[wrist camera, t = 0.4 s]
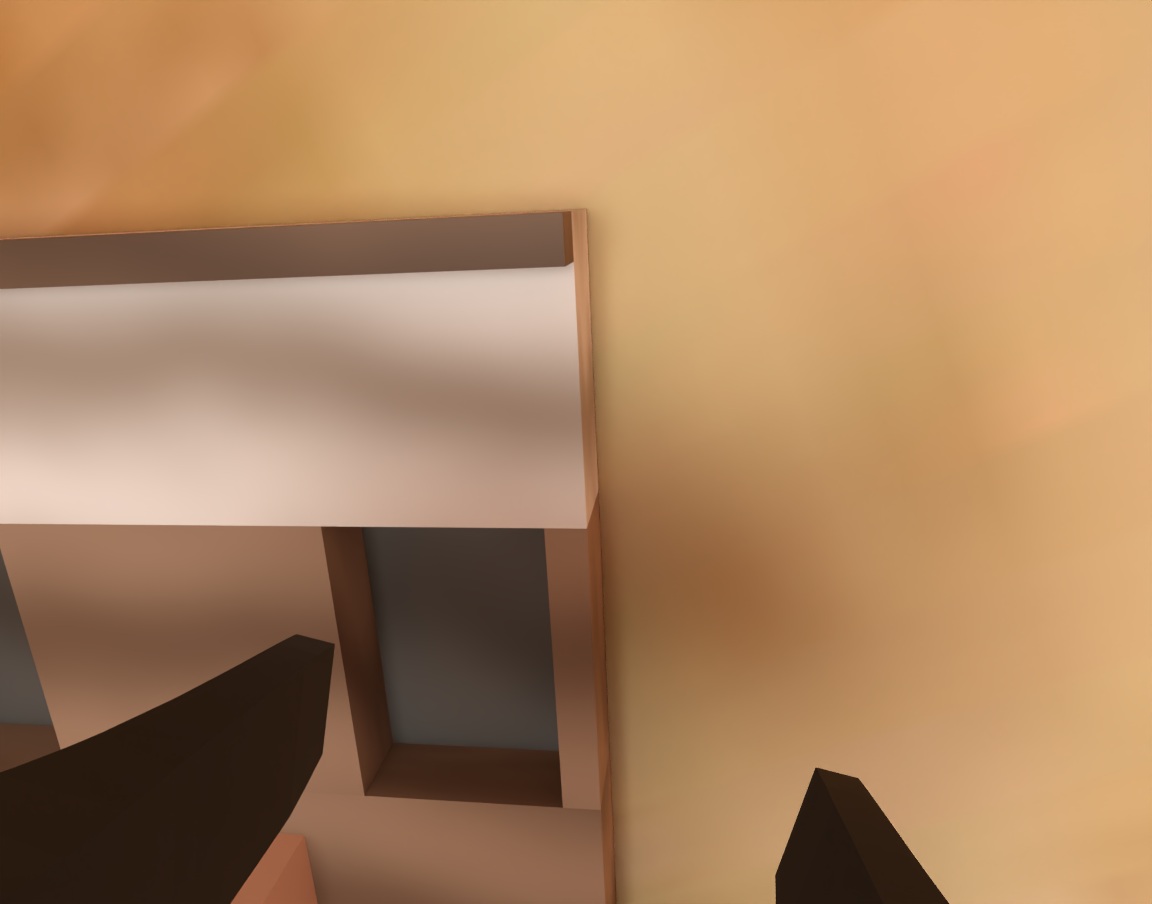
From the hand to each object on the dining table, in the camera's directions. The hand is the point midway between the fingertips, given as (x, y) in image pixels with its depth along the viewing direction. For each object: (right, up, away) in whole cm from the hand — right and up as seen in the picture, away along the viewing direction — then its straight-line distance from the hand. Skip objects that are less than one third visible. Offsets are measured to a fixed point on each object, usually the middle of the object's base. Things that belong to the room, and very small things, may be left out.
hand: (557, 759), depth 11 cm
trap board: (-10, -2, +12) cm, 16 cm away
